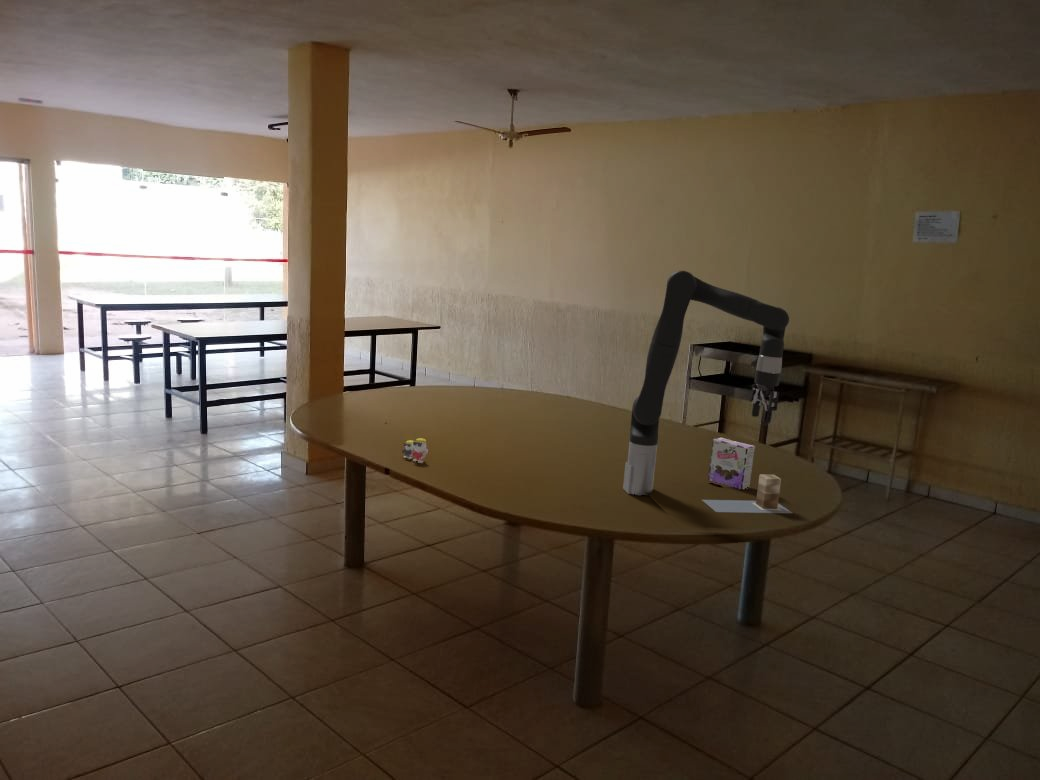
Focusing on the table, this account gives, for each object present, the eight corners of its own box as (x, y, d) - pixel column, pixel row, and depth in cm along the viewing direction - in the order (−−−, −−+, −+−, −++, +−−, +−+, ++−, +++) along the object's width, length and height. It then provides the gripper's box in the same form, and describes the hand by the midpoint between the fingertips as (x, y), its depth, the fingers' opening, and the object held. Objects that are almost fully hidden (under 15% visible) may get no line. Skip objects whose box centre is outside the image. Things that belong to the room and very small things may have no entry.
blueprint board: (715, 515, 248) (716, 511, 248) (701, 503, 260) (701, 499, 259) (792, 516, 253) (792, 512, 252) (774, 504, 264) (775, 500, 264)
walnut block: (762, 508, 254) (764, 493, 254) (755, 503, 259) (757, 488, 258) (777, 508, 255) (779, 494, 254) (769, 503, 260) (771, 489, 259)
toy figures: (400, 456, 289) (401, 434, 288) (409, 454, 293) (410, 433, 291) (420, 464, 281) (422, 441, 280) (430, 462, 285) (431, 440, 283)
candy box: (706, 483, 284) (712, 438, 281) (715, 480, 288) (721, 436, 285) (741, 493, 274) (747, 447, 271) (749, 490, 278) (755, 445, 276)
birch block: (764, 493, 254) (766, 478, 253) (757, 488, 258) (759, 474, 257) (779, 494, 254) (781, 479, 253) (771, 489, 259) (773, 474, 258)
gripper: (747, 365, 258) (740, 413, 261) (767, 373, 244) (759, 423, 247) (769, 367, 259) (761, 415, 262) (790, 374, 246) (781, 425, 249)
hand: (760, 419), depth 255 cm, fingers open, 8 cm apart
